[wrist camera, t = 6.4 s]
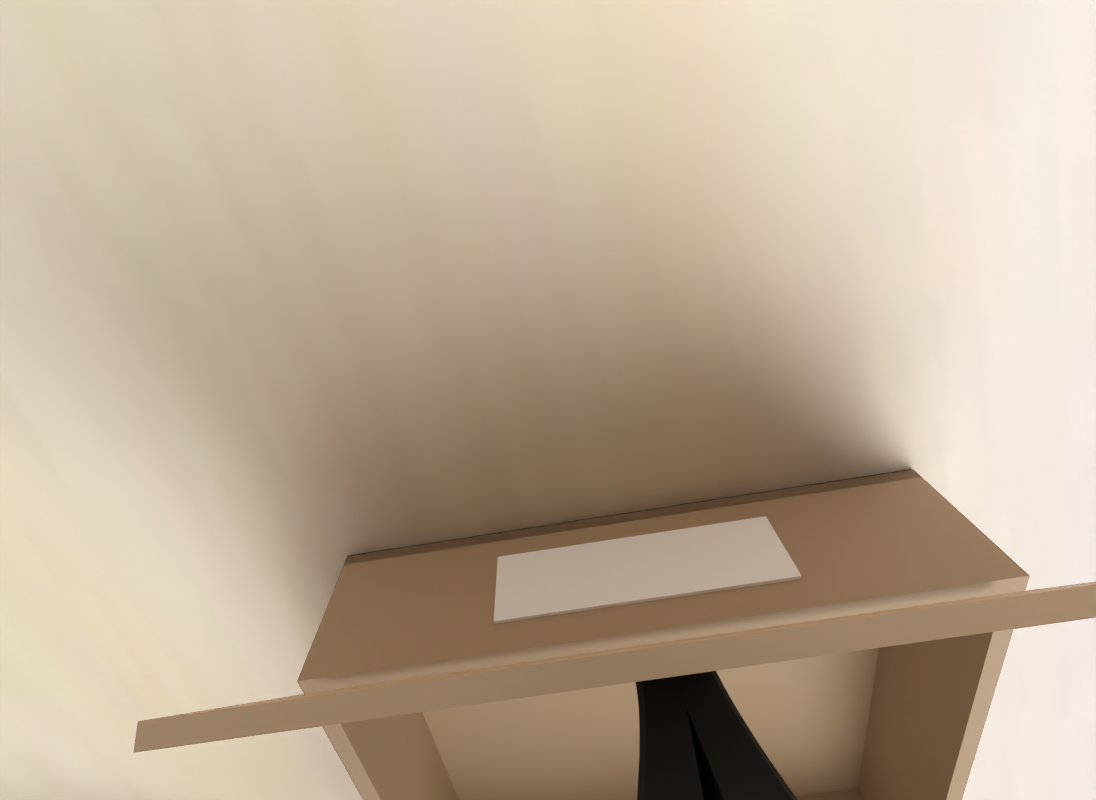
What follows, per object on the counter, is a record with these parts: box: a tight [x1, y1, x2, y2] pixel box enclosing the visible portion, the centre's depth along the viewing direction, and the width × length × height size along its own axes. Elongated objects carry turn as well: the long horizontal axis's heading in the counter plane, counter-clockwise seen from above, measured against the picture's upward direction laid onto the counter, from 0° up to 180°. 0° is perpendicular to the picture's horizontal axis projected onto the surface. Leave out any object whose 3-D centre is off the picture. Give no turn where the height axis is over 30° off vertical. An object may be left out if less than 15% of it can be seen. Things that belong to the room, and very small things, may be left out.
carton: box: [297, 470, 1029, 800], centre depth 20 cm, size 18×17×4 cm
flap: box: [134, 582, 1096, 752], centre depth 11 cm, size 16×6×1 cm
